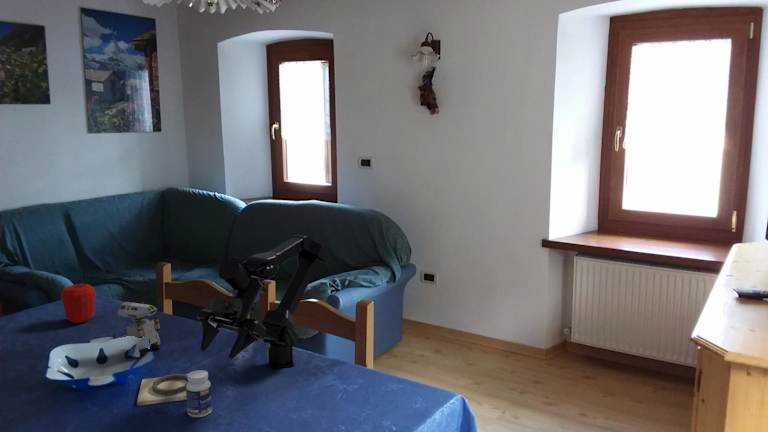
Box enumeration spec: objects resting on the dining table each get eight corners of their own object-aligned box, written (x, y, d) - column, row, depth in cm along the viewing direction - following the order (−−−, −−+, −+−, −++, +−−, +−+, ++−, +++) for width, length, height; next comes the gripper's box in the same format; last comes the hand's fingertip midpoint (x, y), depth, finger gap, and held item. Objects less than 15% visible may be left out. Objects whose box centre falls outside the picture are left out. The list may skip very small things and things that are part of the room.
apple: (88, 326, 207) (84, 287, 205) (58, 326, 208) (53, 287, 205) (103, 315, 218) (99, 278, 215) (73, 315, 218) (70, 278, 215)
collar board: (205, 375, 171) (204, 368, 170) (204, 397, 158) (204, 389, 158) (142, 382, 167) (142, 375, 166) (137, 405, 154) (136, 397, 154)
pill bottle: (205, 419, 148) (202, 380, 146) (183, 417, 149) (180, 378, 147) (216, 407, 153) (214, 369, 151) (195, 405, 154) (192, 367, 152)
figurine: (138, 342, 194) (134, 296, 191) (165, 349, 189) (161, 301, 186) (113, 353, 186) (109, 305, 183) (141, 360, 181) (137, 311, 178)
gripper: (199, 278, 160) (169, 333, 153) (256, 289, 151) (227, 347, 144) (223, 299, 168) (195, 352, 161) (278, 310, 159) (251, 367, 152)
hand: (215, 354), depth 154 cm, fingers open, 9 cm apart
